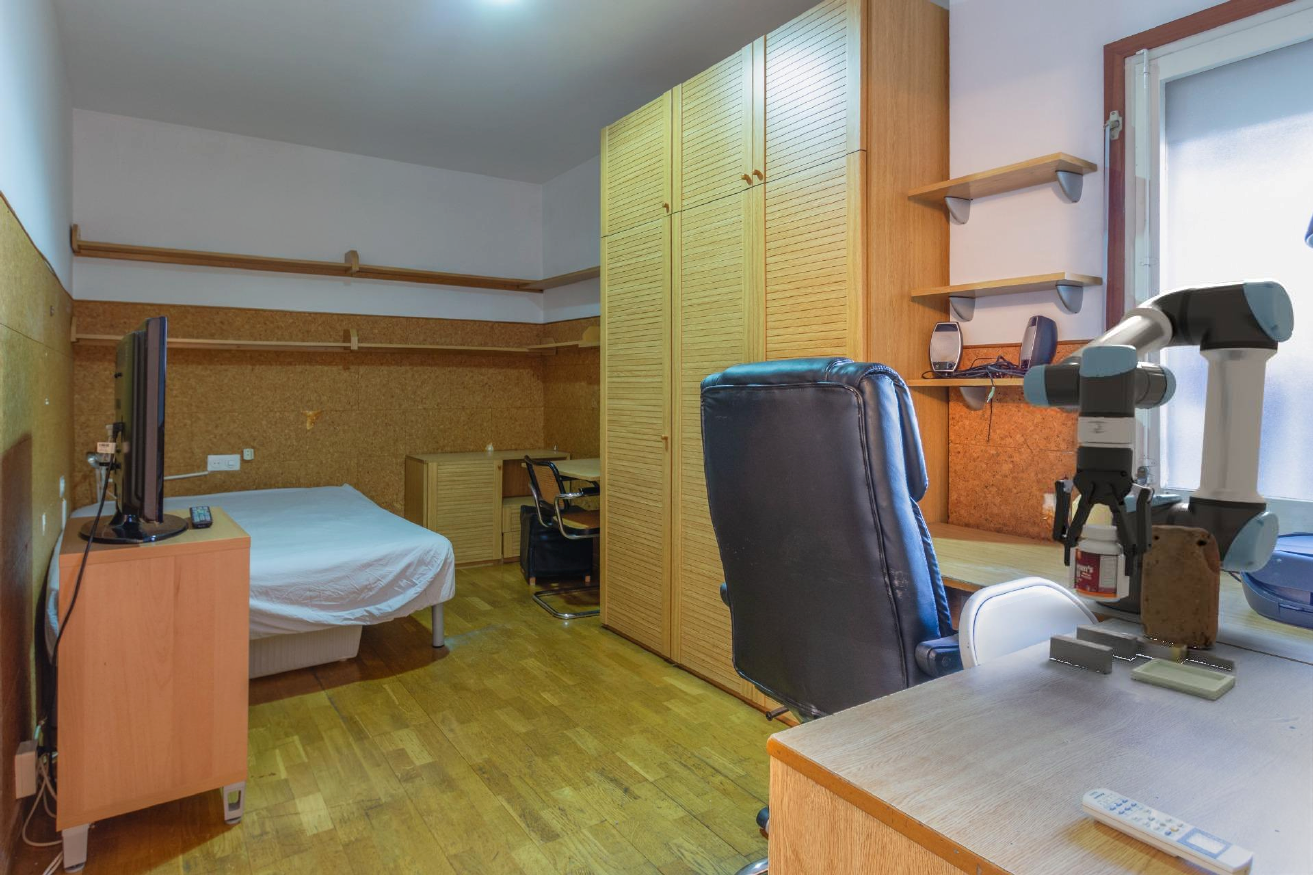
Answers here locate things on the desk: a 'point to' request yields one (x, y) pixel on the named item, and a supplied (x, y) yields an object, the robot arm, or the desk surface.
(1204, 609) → the block
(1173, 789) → the desk surface
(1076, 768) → the desk surface
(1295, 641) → the desk surface
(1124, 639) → the socket
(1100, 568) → the pill bottle
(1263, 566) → the robot arm
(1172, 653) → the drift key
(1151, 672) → the tray
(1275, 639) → the desk surface
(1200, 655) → the rail
